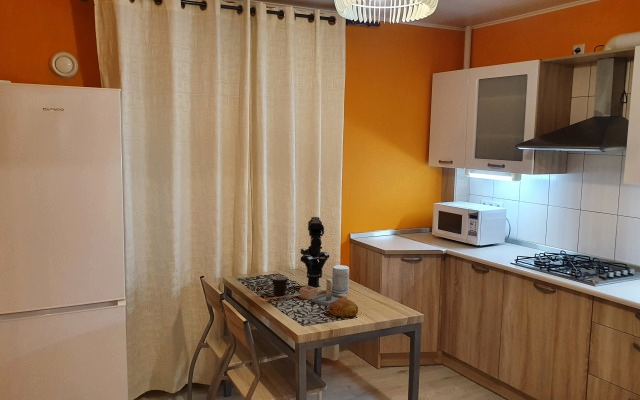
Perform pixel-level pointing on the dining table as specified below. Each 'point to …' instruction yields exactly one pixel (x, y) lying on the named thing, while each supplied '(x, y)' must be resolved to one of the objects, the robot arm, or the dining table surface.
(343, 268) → the supplement tub
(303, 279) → the dining table surface
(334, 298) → the tray
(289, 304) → the dining table surface
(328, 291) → the dowel
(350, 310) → the croissant
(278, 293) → the coffee mug
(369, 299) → the dining table surface
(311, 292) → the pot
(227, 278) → the dining table surface
